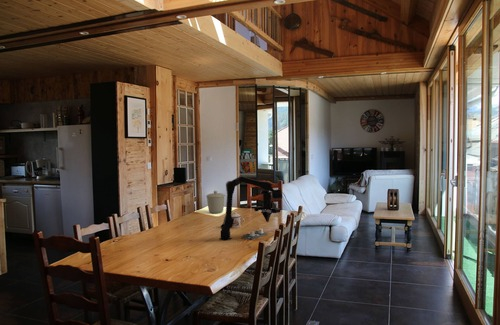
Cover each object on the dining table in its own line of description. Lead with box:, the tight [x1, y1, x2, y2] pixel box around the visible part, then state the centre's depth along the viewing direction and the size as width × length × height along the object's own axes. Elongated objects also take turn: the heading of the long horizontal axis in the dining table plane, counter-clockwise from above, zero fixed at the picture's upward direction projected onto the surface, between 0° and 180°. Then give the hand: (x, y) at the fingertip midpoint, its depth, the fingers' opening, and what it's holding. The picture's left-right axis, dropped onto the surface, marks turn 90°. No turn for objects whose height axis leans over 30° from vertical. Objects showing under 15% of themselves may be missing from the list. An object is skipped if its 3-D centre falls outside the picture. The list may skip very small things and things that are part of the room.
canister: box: [205, 190, 226, 215], centre depth 367 cm, size 18×18×21 cm
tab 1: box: [249, 230, 255, 236], centre depth 264 cm, size 3×3×3 cm
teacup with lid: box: [230, 211, 246, 229], centre depth 301 cm, size 12×9×12 cm
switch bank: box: [241, 230, 268, 241], centre depth 270 cm, size 18×9×2 cm, turn 142°
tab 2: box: [258, 228, 265, 233], centre depth 272 cm, size 3×3×3 cm
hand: (267, 221), depth 268 cm, fingers closed
